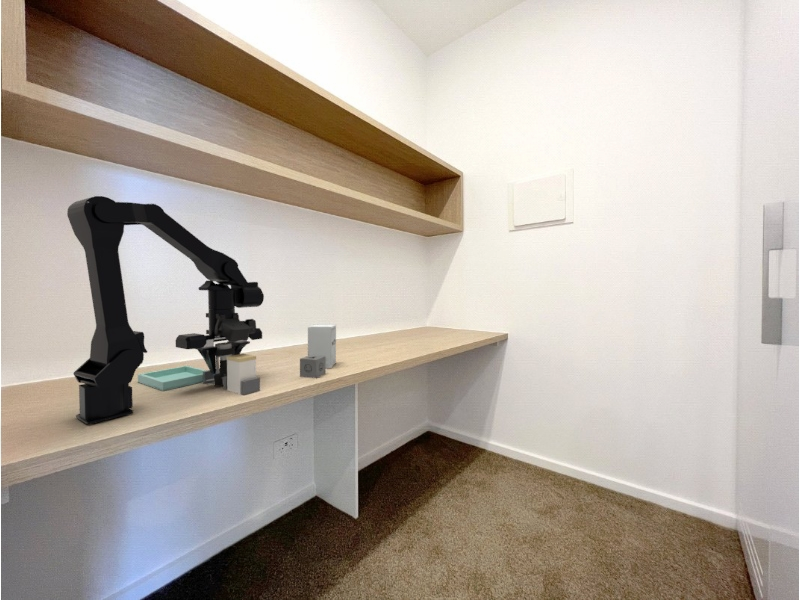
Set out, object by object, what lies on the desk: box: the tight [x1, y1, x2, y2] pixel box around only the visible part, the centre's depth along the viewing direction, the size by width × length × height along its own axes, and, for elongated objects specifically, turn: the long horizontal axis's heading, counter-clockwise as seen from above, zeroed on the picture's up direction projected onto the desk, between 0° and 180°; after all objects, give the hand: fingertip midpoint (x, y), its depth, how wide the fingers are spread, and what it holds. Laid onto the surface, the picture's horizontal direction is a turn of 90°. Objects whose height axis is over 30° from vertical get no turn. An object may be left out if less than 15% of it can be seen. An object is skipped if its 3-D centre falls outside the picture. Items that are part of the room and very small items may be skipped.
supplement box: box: [307, 324, 337, 370], centre depth 102 cm, size 7×7×13 cm
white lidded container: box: [226, 353, 257, 395], centre depth 77 cm, size 4×5×8 cm
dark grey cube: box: [299, 355, 327, 379], centre depth 91 cm, size 5×5×5 cm
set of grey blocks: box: [202, 367, 261, 396], centre depth 79 cm, size 4×17×3 cm, turn 58°
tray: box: [137, 365, 207, 392], centre depth 84 cm, size 12×14×2 cm
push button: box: [206, 341, 236, 387], centre depth 81 cm, size 7×5×10 cm
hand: (223, 371), depth 81 cm, fingers closed on push button, 4 cm apart
